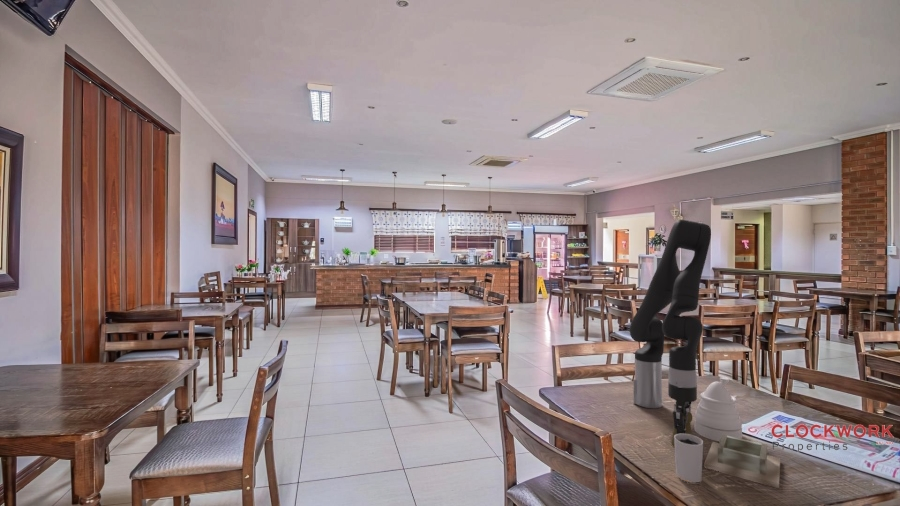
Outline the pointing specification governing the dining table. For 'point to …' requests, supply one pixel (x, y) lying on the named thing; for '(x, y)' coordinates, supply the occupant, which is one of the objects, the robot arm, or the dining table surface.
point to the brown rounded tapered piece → (688, 427)
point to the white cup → (688, 456)
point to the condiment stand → (744, 460)
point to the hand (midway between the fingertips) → (682, 438)
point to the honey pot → (717, 413)
